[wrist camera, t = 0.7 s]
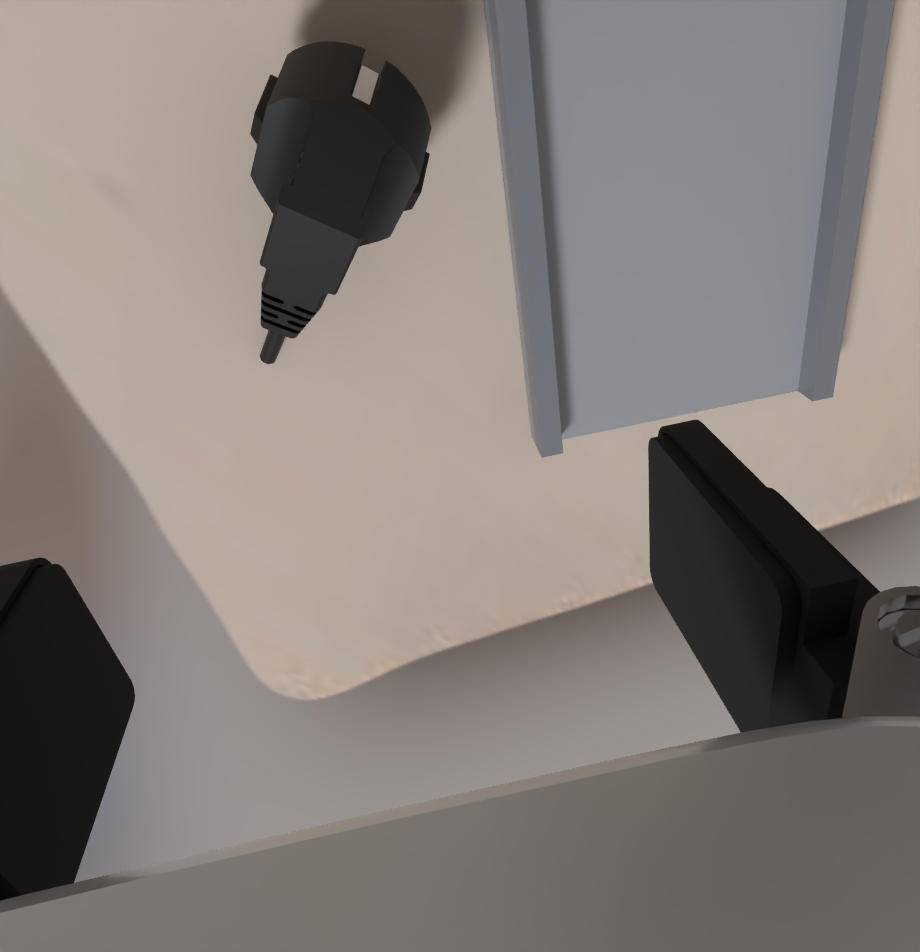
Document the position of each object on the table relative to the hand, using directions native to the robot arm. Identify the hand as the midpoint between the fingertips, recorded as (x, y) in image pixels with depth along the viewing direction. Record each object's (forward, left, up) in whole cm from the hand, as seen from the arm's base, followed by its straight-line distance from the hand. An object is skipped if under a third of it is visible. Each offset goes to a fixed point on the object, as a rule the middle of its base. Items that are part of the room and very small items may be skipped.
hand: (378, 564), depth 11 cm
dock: (0, +13, -20) cm, 24 cm away
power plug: (-2, -1, -20) cm, 20 cm away
